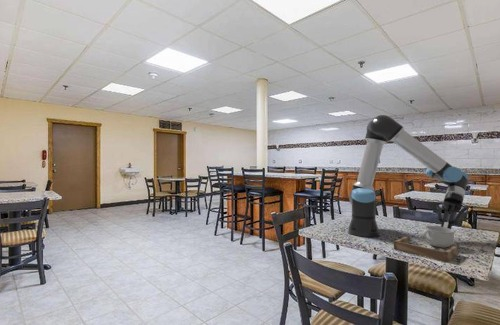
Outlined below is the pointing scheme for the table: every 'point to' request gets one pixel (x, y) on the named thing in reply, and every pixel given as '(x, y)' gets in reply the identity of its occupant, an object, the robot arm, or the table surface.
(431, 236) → the teacup
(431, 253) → the wooden tray
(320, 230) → the table surface
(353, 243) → the table surface
